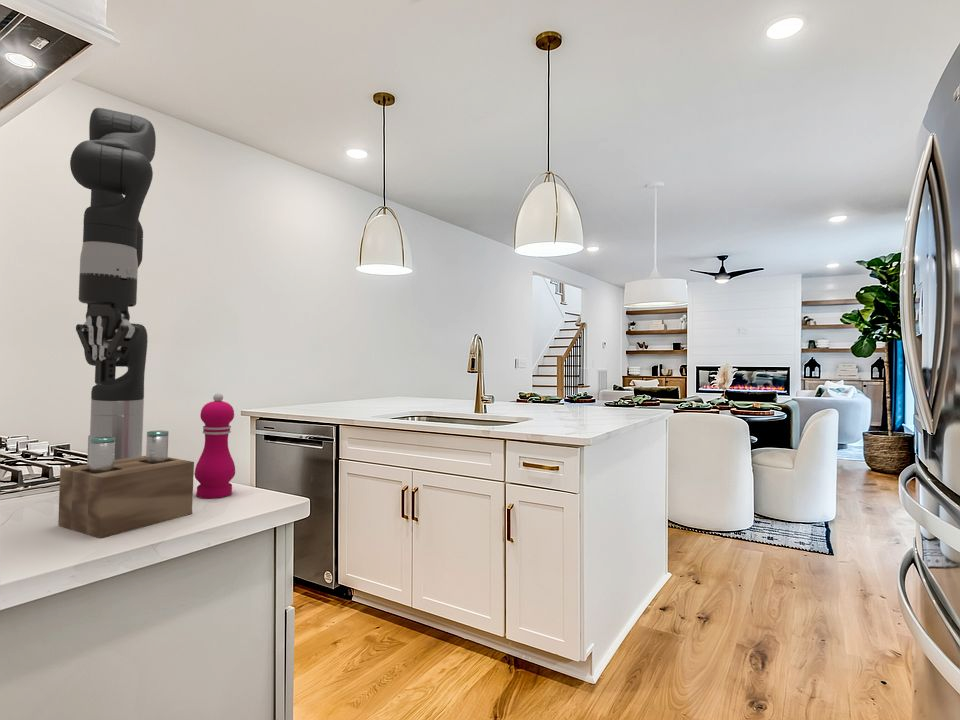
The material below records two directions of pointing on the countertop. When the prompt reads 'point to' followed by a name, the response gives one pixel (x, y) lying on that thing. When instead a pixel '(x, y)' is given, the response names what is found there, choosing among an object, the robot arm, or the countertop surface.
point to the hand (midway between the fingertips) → (105, 384)
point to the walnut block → (124, 495)
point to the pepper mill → (215, 450)
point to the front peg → (102, 454)
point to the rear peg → (157, 447)
